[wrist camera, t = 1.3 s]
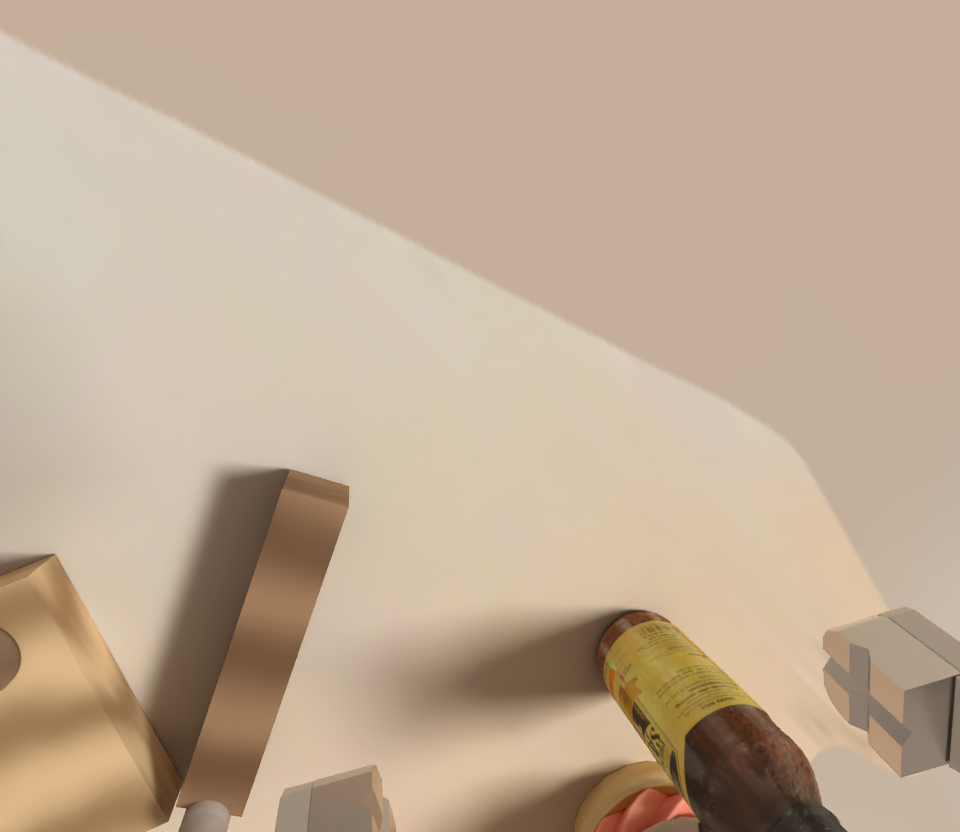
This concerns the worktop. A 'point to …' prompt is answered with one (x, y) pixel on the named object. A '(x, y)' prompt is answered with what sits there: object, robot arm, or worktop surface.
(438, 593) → the worktop surface
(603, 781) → the cake
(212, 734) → the brown wooden block
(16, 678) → the stool seat
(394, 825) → the robot arm
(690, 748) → the sauce bottle
